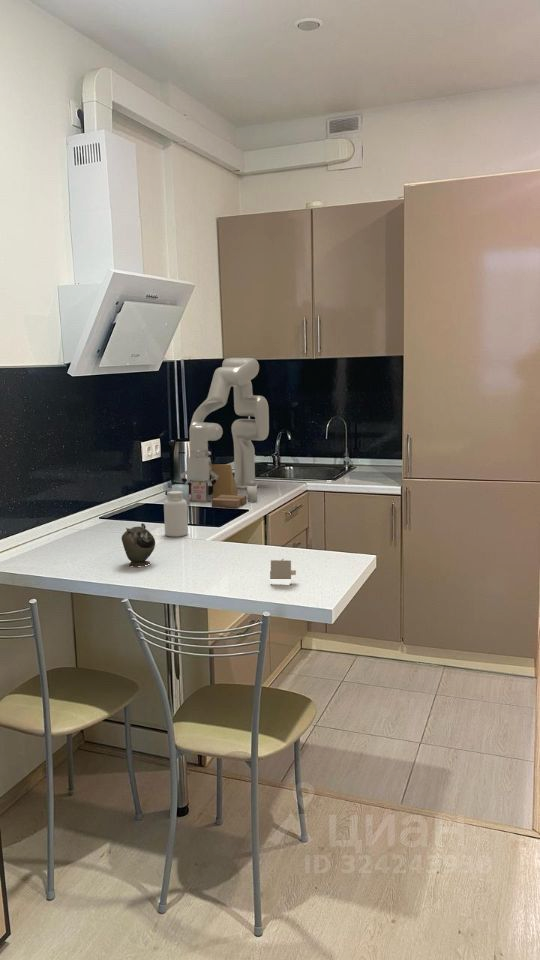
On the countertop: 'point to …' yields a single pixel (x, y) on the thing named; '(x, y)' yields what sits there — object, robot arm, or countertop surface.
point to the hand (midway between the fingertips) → (199, 494)
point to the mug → (183, 488)
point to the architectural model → (281, 569)
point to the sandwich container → (223, 480)
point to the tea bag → (199, 491)
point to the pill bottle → (175, 514)
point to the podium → (229, 501)
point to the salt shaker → (252, 491)
